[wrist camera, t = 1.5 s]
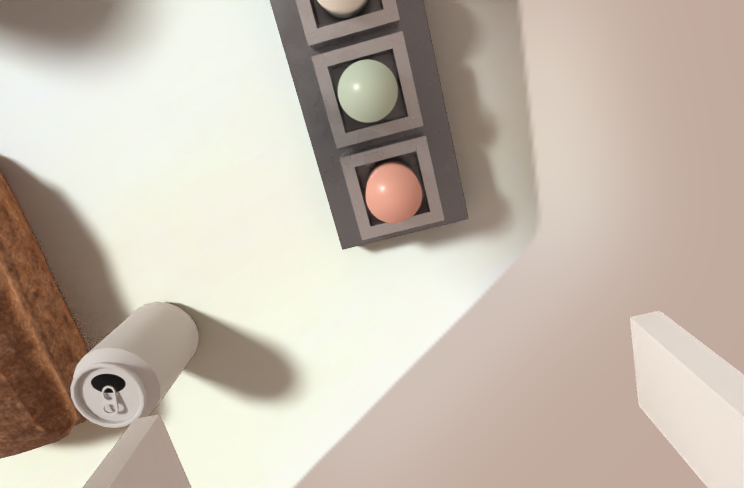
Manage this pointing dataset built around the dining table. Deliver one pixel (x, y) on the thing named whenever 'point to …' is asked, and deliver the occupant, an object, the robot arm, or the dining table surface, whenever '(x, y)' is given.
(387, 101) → the button sage
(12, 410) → the bread
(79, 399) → the can
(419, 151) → the console
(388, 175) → the button coral
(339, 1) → the button ivory
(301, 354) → the dining table surface
